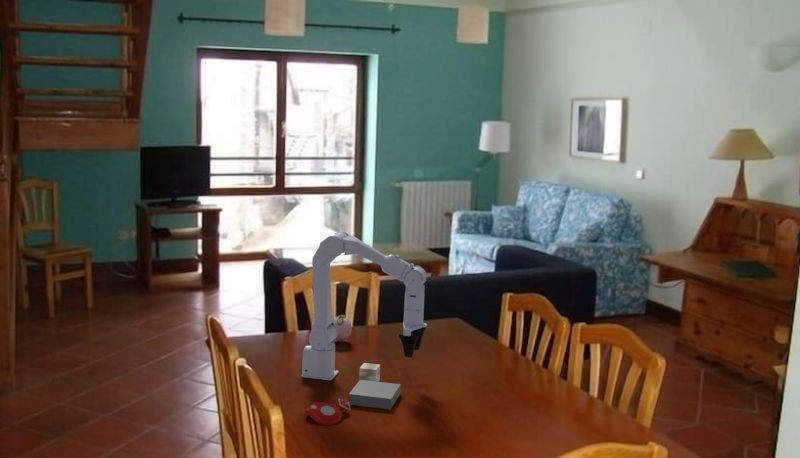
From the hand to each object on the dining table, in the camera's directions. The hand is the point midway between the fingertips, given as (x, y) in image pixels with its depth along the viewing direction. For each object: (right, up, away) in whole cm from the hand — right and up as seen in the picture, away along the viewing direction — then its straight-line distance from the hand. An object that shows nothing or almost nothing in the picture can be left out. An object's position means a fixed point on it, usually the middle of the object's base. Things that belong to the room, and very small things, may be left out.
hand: (411, 353), depth 236 cm
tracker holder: (-22, -14, -24) cm, 35 cm away
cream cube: (-13, -9, +3) cm, 16 cm away
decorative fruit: (-25, -3, +41) cm, 48 cm away
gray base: (-11, -11, -10) cm, 19 cm away
